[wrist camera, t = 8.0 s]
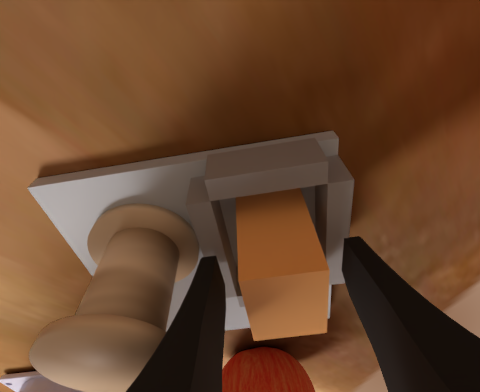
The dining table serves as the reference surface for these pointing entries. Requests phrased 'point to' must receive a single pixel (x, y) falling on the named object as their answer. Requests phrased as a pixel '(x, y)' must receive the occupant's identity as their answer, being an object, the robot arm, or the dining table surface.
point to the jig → (211, 201)
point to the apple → (265, 372)
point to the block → (281, 266)
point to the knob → (119, 300)
